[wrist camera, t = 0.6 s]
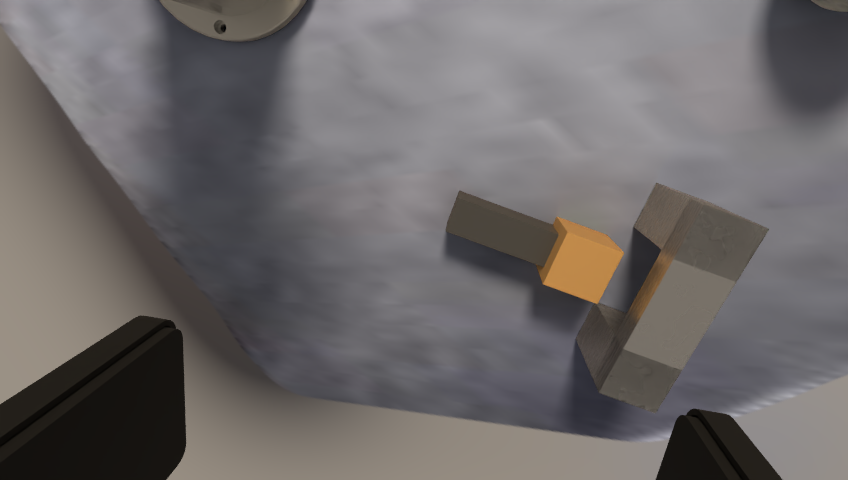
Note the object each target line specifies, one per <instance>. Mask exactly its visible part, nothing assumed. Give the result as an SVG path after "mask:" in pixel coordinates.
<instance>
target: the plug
mask: <svg viewBox="0 0 848 480" xmlns="http://www.w3.org/2000/svg"><path fill="white" fill-rule="evenodd" d="M446 232H449V233H452V234H454V235H457V236H460V237H462V238H465V239H468V240H471V241H473V242H476V243H479V244H482V245H484V246H487V247H490V248H493V249H495V250H498V251H501V252H503V253H506V254H509V255H512V256H514V257H517V258H520V259H523V260H525V261H528V262H531V263H534V264H536V267H537V269H538V272H539V275H540V277H541V280H542V283H543V284H544V285H547V286H549V287H552V288H555V289H557V290H560V291H563V292H566V293H568V294H571V295H574V296H577V297H579V298H582V299H585V300H588V301H590V302H593V303H596V304H598V302H599V300H600V298H601V296H602V294H603V292H604V290H605V289H606V287H607V285H608V283H609V281H610V279H611V277H612V275H613V273H614V271H615V269H616V267H617V265H618V264H619V262H620V260H621V258H622V256H623V254H624V252H623V251H622V250H621V249H620V248H619V247H618V246H617V245H616V244H615V243H614V242H613V241H612V240H611V239H610V238H609V237H608V236H607V235H606V234H603V233H600V232H598V231H595V230H592V229H589V228H587V227H584V226H581V225H578V224H576V223H573V222H570V221H568V220H565V219H562V218H559V217H556V219H555V222H554V224H553V225H552V224H549V223H546V222H543V221H541V220H538V219H535V218H532V217H530V216H527V215H524V214H522V213H519V212H516V211H513V210H511V209H508V208H505V207H502V206H500V205H497V204H494V203H492V202H489V201H486V200H483V199H481V198H478V197H475V196H472V195H470V194H467V193H464V192H462V191H459V193H458V195H457V198H456V201H455V203H454V206H453V209H452V211H451V214H450V216H449V219H448V222H447V226H446Z"/></svg>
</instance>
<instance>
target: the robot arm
mask: <svg viewBox="0 0 848 480" xmlns="http://www.w3.org/2000/svg"><path fill="white" fill-rule="evenodd" d="M159 1H160V2H161V3H162V5H163V6H164V7H165V8H166V9H167V10H168V11H169V12H170V13H171V14H172V15H173V16H174V17H175V18H176V19H177V20H179V21H180V22H182V23H183V24H185V25H186V26H188V27H189V28H191V29H192V30H194V31H196V32H199V33H201V34H203V35H206V36H208V37H212V38H215V39H219V40H225V41H233V42H245V41H255V40H258V39H261V38H264V37H267V36H270V35H271V34H273V33H275V32H277V31H278V30H280V29H282V28H283V27H285V26H286V25H287V24H288V23H289V22H290V21H291V20H292V19H293V18H294V17H295V16H296V15H297V14H298V13H299V11H300V10H301V8H302V7H303V6H304V4H305V3H306V1H307V0H159ZM225 25H226V31H224V26H225ZM184 395H185V394H184V363H183V337H182V333H181V331H180V330H178V329H176V327H175V324H174V323H173V322H172V321H171V320H166V319H160V318H154V317H148V316H138V317H136V318H134V319H132V320H131V321H129V322H128V323H126V324H125V325H123V326H122V327H120V328H119V329H117V330H115V331H114V332H112V333H111V334H109V335H108V336H106V337H104V338H103V339H101V340H100V341H98V342H97V343H95V344H94V345H92V346H90V347H89V348H87V349H86V350H85V351H83V352H81V353H80V354H78V355H77V356H75V357H73V358H72V359H70V360H69V361H67V362H66V363H64V364H62V365H61V366H59V367H58V368H56V369H55V370H53V371H52V372H50V373H48V374H47V375H45V376H44V377H42V378H41V379H39V380H38V381H36V382H34V383H33V384H31V385H30V386H28V387H27V388H25V389H23V390H22V391H21V392H19V393H17V394H16V395H14V396H13V397H11V398H9V399H8V400H6V401H5V402H3V403H2V404H0V480H166V479H167V478H168V477H169V475H170V474H171V473H172V472H173V470H174V469H175V468H176V467H177V465H178V464H179V463H180V461H181V459H182V457H183V455H184V452H185V447H186V425H185V396H184ZM656 480H782V479H781V477H780V476H779V475H778V474H777V472H776V471H775V470H774V469H773V468H772V466H771V465H770V464H769V462H768V461H767V460H766V459H765V457H764V456H763V455H762V454H761V452H760V451H759V450H758V449H757V448H756V447H755V445H754V444H753V443H752V441H751V440H750V439H749V438H748V436H747V435H746V434H745V433H744V431H743V430H742V429H741V428H740V427H739V425H738V424H737V423H736V422H735V420H734V419H733V418H732V417H731V416H730V415H727V414H723V413H717V412H711V411H705V410H699V409H691V410H690V411H689V412H688V413H687V415H686V416H685V415H681V416H679V417H678V418H677V420H676V422H675V425H674V428H673V431H672V434H671V437H670V440H669V443H668V446H667V449H666V451H665V454H664V457H663V460H662V463H661V466H660V469H659V472H658V475H657V478H656Z"/></svg>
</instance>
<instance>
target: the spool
mask: <svg viewBox="0 0 848 480" xmlns="http://www.w3.org/2000/svg"><path fill="white" fill-rule="evenodd" d="M811 1H812V2H814V3H815V4H817V5H818V6H820V7H822V8H825V9H829V10H833V11H838V12H848V0H811Z"/></svg>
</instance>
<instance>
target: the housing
mask: <svg viewBox="0 0 848 480" xmlns="http://www.w3.org/2000/svg"><path fill="white" fill-rule="evenodd" d="M634 227H635V228H636V229H637V230H638V231H639V232H641V233H642V234H643V235H644V236H646V237H647V238H648V239H649V240H651V241H652V242H653V243H654V244H655V245H657V246H658V247H659V248H660V249H662V250H661V252H660V254H659V256H658V258H657V259H656V261H655V263H654V265H653V267H652V268H651V270H650V272H649V274H648V276H647V278H646V279H645V281H644V283H643V285H642V287H641V289H640V290H639V292H638V294H637V296H636V298H635V300H634V301H633V303H632V305H631V307H630V309H629V311H628V312H627V313H624V312H622V311H619V310H616V309H613V308H611V307H608V306H605V305H602V304H600V303H598V304H596V303H594V305H593V306H592V308H591V310H590V312H589V314H588V316H587V318H586V320H585V322H584V324H583V326H582V328H581V330H580V332H579V334H578V335H577V337H576V341H577V343H578V345H579V348H580V350H581V352H582V355H583V357H584V359H585V362H586V364H587V366H588V369H589V371H590V373H591V376H592V378H593V380H594V383H595V385H596V388H597V390H598V392H599V393H601V394H604V395H606V396H609V397H612V398H615V399H617V400H620V401H623V402H626V403H628V404H631V405H634V406H637V407H639V408H642V409H645V410H648V411H650V412H653V413H656V412H657V410H658V408H659V407H660V405H661V403H662V402H663V400H664V399H665V397H666V395H667V394H668V392H669V391H670V389H671V387H672V386H673V384H674V382H675V381H676V379H677V378H678V376H679V374H680V373H681V371H682V369H683V368H684V366H685V365H686V363H687V361H688V360H689V358H690V357H691V355H692V353H693V352H694V350H695V348H696V347H697V345H698V344H699V342H700V340H701V339H702V337H703V335H704V334H705V332H706V331H707V329H708V327H709V326H710V324H711V322H712V321H713V319H714V318H715V316H716V314H717V313H718V311H719V310H720V308H721V306H722V305H723V303H724V301H725V300H726V298H727V297H728V295H729V293H730V292H731V290H732V288H733V287H734V285H735V284H736V282H737V280H738V279H739V277H740V276H741V274H742V272H743V271H744V269H745V267H746V266H747V264H748V263H749V261H750V259H751V258H752V256H753V254H754V253H755V251H756V250H757V248H758V246H759V245H760V243H761V242H762V240H763V238H764V237H765V235H766V233H767V232H768V230H769V229H768V228H765V227H763V226H761V225H759V224H757V223H754V222H752V221H750V220H748V219H745V218H743V217H741V216H739V215H736V214H734V213H732V212H730V211H728V210H725V209H723V208H721V207H719V206H716V205H714V204H712V203H710V202H707V201H705V200H702V199H699V198H696V197H694V196H691V195H688V194H686V193H683V192H680V191H677V190H675V189H672V188H669V187H667V186H664V185H661V184H658V183H656V185H655V187H654V189H653V191H652V193H651V194H650V196H649V198H648V200H647V202H646V204H645V206H644V208H643V210H642V212H641V214H640V216H639V218H638V220H637V222H636V223H635V225H634Z"/></svg>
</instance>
